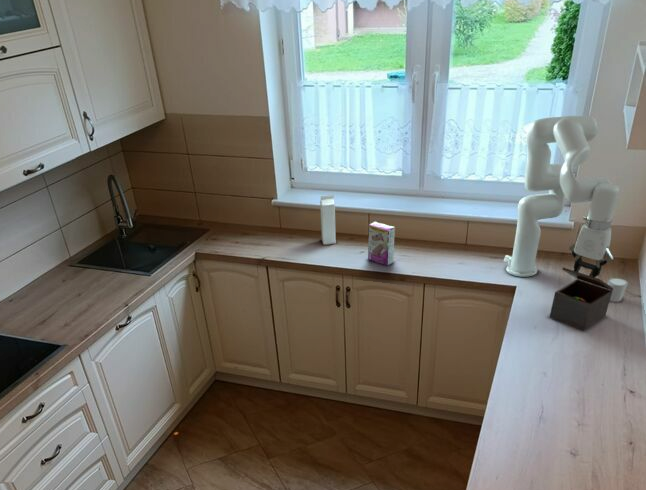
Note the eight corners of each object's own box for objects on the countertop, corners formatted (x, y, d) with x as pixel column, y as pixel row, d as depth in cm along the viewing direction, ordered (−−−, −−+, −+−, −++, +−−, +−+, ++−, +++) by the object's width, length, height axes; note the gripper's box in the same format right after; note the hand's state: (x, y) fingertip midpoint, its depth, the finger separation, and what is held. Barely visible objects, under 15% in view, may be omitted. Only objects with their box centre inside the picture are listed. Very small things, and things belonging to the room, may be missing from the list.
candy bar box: (367, 260, 267) (367, 224, 257) (374, 256, 270) (374, 221, 260) (387, 266, 261) (388, 230, 251) (394, 262, 264) (395, 226, 254)
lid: (598, 281, 200) (606, 267, 199) (561, 269, 209) (568, 255, 207) (612, 290, 212) (619, 277, 210) (576, 278, 220) (583, 265, 219)
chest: (584, 330, 211) (591, 304, 205) (549, 317, 219) (555, 292, 213) (605, 316, 218) (612, 290, 212) (571, 303, 227) (577, 278, 220)
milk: (321, 240, 288) (319, 194, 275) (333, 238, 288) (332, 193, 275) (323, 244, 283) (321, 198, 270) (336, 243, 284) (334, 197, 270)
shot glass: (624, 302, 225) (629, 286, 221) (605, 301, 227) (610, 285, 222) (621, 294, 231) (626, 278, 226) (602, 293, 232) (606, 277, 228)
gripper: (568, 220, 199) (557, 269, 210) (618, 233, 189) (603, 284, 200) (580, 214, 203) (568, 263, 214) (629, 226, 192) (614, 277, 203)
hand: (585, 273), depth 207 cm, fingers closed on lid, 6 cm apart
